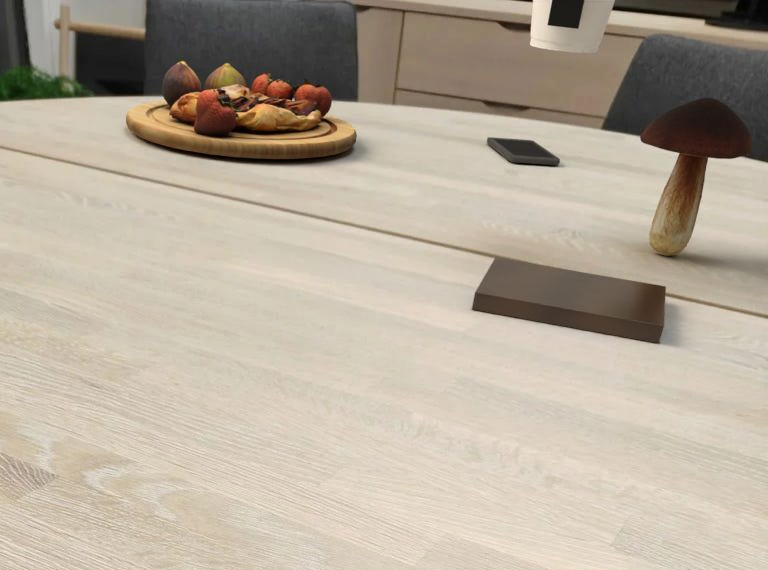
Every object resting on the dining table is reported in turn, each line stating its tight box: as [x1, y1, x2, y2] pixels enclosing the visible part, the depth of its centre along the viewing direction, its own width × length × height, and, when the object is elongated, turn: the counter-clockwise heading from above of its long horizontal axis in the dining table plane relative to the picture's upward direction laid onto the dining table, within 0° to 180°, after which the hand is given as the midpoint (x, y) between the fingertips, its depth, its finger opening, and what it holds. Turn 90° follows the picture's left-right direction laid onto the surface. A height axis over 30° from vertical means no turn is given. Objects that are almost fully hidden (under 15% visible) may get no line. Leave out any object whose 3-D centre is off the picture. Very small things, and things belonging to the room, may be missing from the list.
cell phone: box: [486, 136, 561, 166], centre depth 145 cm, size 7×14×1 cm, turn 6°
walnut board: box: [471, 257, 667, 344], centre depth 89 cm, size 16×12×2 cm
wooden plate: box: [125, 60, 358, 160], centre depth 136 cm, size 32×32×8 cm
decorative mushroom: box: [639, 97, 754, 257], centre depth 102 cm, size 11×11×15 cm
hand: (568, 23), depth 93 cm, fingers closed on foam cup, 9 cm apart
